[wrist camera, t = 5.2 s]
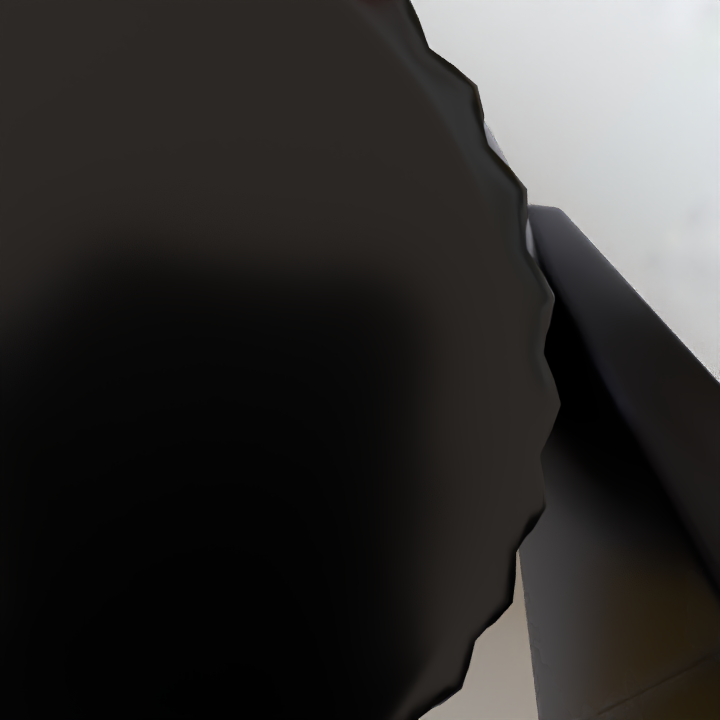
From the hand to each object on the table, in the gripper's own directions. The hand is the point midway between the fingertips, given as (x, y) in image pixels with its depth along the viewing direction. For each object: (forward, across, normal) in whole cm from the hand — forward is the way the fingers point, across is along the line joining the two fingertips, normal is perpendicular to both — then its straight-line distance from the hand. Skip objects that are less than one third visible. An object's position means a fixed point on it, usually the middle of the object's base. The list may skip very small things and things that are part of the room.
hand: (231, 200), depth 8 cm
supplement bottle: (+4, 0, +6) cm, 7 cm away
